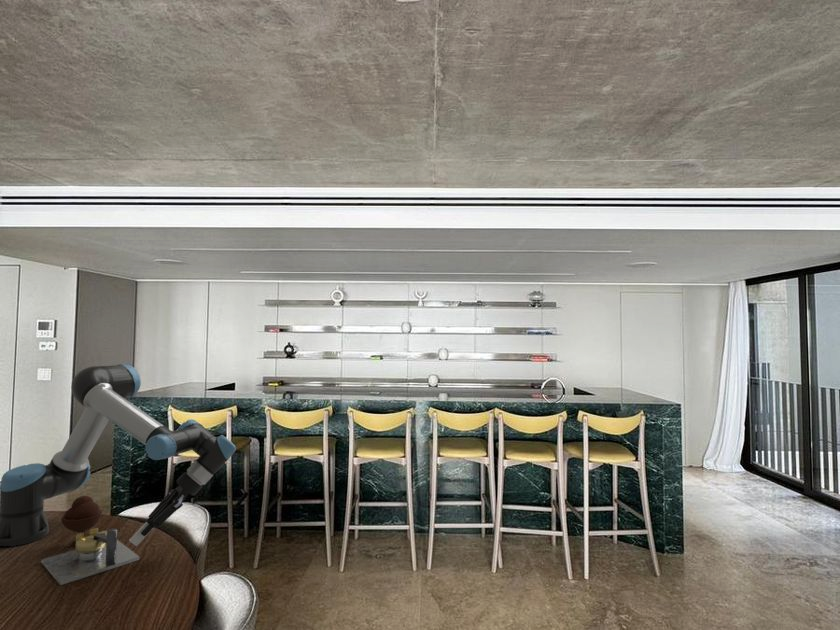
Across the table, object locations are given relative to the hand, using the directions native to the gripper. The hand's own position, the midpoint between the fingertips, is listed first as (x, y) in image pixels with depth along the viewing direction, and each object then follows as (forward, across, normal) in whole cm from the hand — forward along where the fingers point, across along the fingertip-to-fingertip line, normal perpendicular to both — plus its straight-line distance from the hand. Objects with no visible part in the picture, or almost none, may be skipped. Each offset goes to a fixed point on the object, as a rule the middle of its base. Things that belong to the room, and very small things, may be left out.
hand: (132, 542), depth 146 cm
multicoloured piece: (+9, -5, -3) cm, 11 cm away
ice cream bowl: (+13, -25, -5) cm, 29 cm away
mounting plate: (+12, -8, -3) cm, 14 cm away
